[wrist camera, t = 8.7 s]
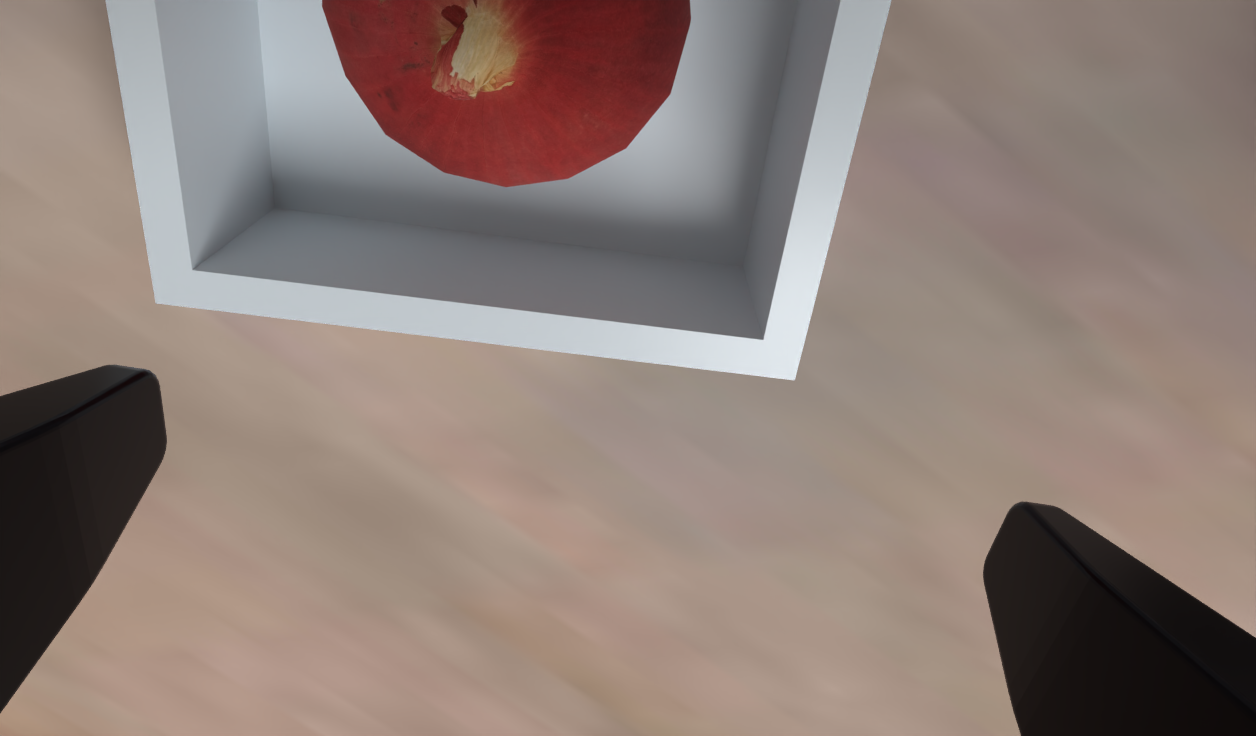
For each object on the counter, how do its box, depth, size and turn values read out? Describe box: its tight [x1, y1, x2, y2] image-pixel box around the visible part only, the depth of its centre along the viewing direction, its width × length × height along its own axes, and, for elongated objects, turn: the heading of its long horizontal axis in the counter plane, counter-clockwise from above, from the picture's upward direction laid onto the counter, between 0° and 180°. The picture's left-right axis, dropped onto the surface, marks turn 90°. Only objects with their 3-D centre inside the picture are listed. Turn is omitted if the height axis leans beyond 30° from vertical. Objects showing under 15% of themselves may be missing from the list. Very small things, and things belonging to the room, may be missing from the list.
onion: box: [322, 0, 691, 187], centre depth 13 cm, size 6×6×8 cm
